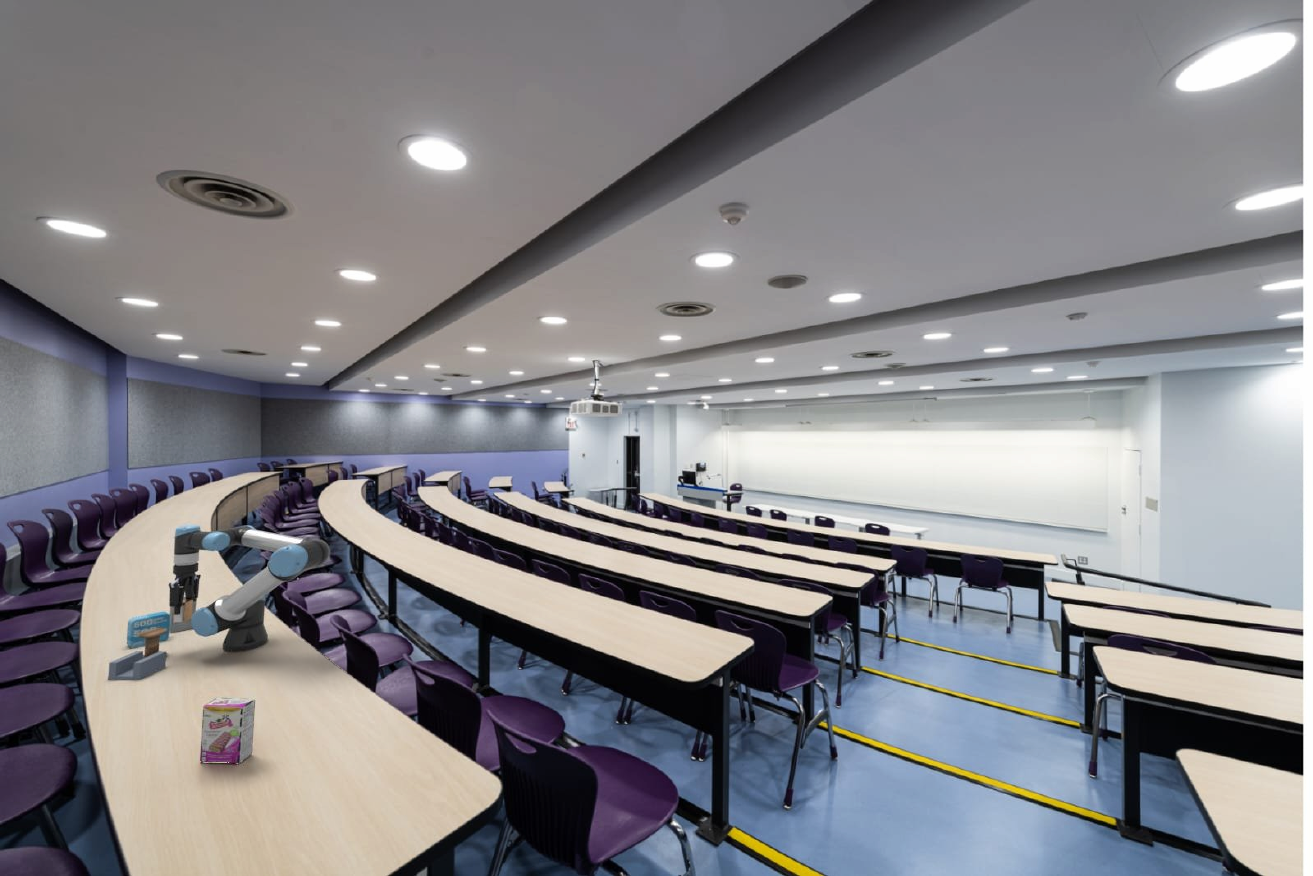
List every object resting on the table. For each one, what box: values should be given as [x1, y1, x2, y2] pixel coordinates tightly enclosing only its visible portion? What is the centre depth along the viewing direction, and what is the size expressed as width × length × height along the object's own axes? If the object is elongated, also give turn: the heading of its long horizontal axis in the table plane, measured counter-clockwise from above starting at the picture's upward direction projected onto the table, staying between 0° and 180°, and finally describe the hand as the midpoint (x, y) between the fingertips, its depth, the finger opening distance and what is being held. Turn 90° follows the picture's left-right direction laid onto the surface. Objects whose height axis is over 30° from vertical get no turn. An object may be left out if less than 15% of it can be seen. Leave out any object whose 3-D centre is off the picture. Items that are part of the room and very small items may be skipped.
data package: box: [126, 611, 170, 649], centre depth 209 cm, size 12×4×12 cm, turn 150°
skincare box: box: [168, 593, 198, 634], centre depth 225 cm, size 8×7×16 cm
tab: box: [173, 600, 193, 622], centre depth 199 cm, size 4×4×8 cm
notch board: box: [107, 650, 167, 681], centre depth 183 cm, size 11×10×6 cm
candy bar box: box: [199, 697, 256, 765], centre depth 138 cm, size 11×5×16 cm, turn 92°
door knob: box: [138, 628, 168, 659], centre depth 195 cm, size 9×9×11 cm
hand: (183, 619), depth 199 cm, fingers closed on tab, 4 cm apart
